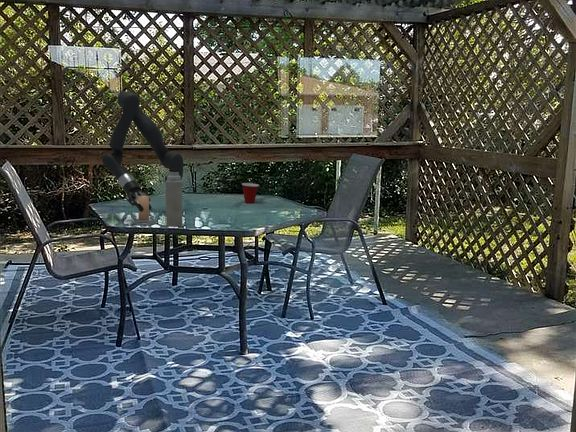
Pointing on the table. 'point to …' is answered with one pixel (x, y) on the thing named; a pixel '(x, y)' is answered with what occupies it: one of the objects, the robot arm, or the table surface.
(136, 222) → the coaster
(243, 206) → the table surface
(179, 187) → the thermos bottle
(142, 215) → the tan tapered cylinder
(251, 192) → the plastic cup
